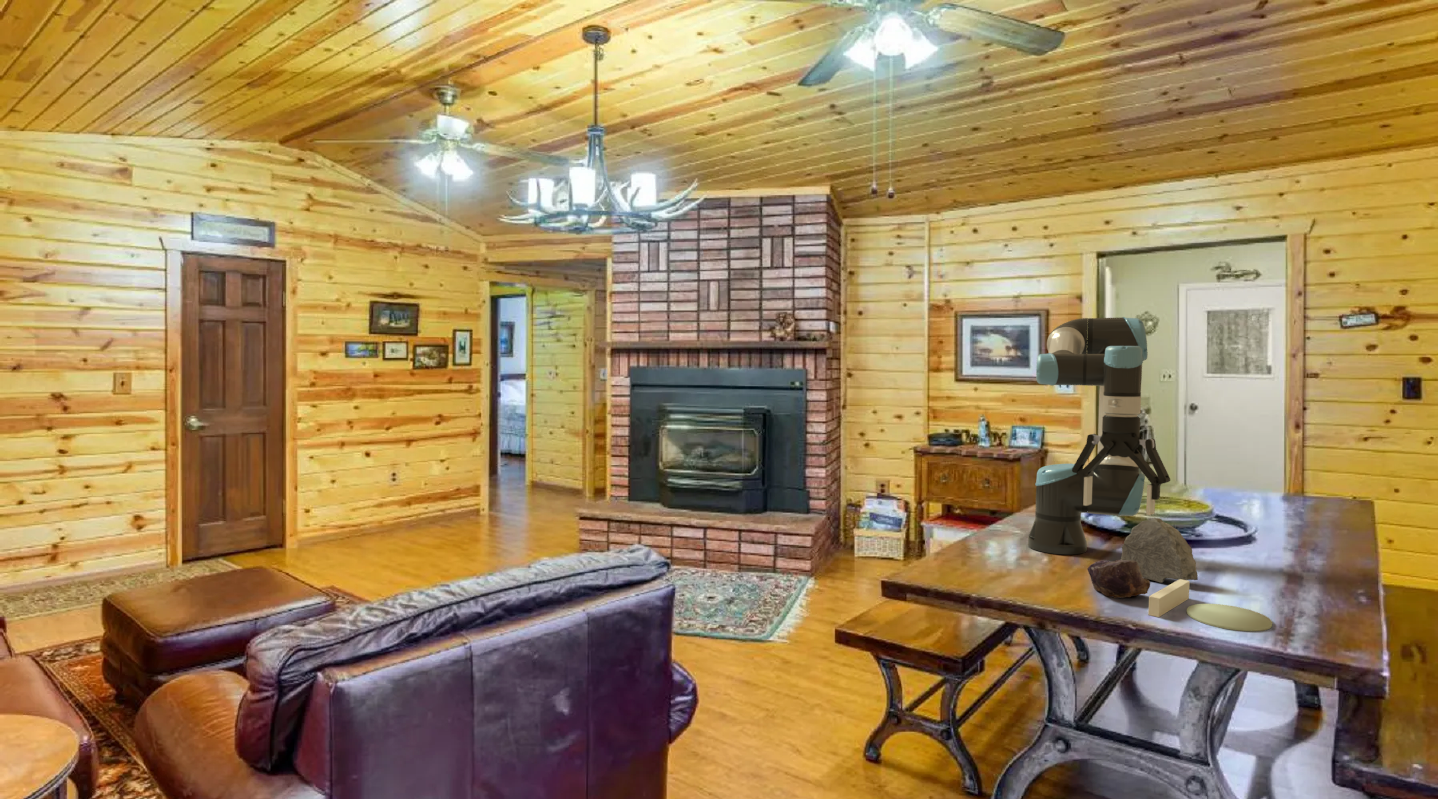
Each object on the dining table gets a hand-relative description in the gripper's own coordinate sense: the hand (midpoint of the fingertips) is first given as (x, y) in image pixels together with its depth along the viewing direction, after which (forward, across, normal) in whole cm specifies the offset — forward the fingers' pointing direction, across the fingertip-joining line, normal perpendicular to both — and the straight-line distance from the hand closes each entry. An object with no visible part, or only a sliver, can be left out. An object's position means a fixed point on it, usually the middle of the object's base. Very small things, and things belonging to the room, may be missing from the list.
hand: (1118, 509), depth 180 cm
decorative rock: (+20, +2, +20) cm, 28 cm away
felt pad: (+20, +22, +2) cm, 30 cm away
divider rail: (+20, +11, +1) cm, 23 cm away
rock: (+20, 0, 0) cm, 20 cm away
